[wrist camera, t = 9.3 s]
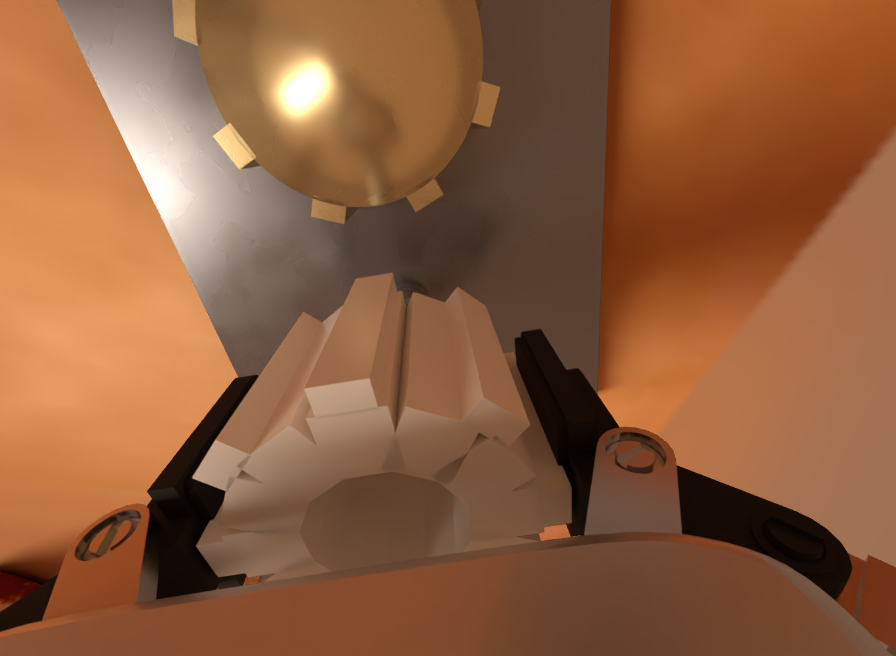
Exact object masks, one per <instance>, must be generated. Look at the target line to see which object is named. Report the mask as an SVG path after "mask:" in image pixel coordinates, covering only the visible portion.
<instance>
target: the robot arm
mask: <svg viewBox="0 0 896 656" xmlns="http://www.w3.org/2000/svg"><path fill="white" fill-rule="evenodd" d="M515 354H516V365H517V368H518V370H519V372H520V375H521V377H522V380H523V382H524V384H525V387H526V389H527V392H528V394H529V397H530V399H531V401H532V404H533V406H534V409H535V411H536V414H537V416H538V418H539V421H540V423H541V426H542V428H543V430H544V433H545V435H546V438H547V440H548V443H549V445H550V447H551V450H552V452H553V455H554V457H555V460H556V462H557V464H558V466H563V469H564V471H565V473H566V476H567V478H568V480H569V483H570V485H571V487H572V523H568V524H566V525H567V528H568V530H569V533H570V536H571V537H568V538H561V539H553V540H545V541H538V542H530V543H522V544H515V545H507V546H501V547H494V548H487V549H480V550H474V551H467V552H460V553H453V554H447V555H440V556H433V557H427V558H420V559H413V560H406V561H400V562H393V563H386V564H380V565H373V566H367V567H360V568H354V569H347V570H341V571H334V572H328V573H321V574H315V575H308V576H302V577H295V578H289V579H282V580H276V581H270V582H263V583H257V584H250V585H244V586H243V583H244V581H245V578H246V576H247V575H246V574H245V573H243V574H236V575H230V576H223V577H218V576H217V575H216V574H215V572H214V571H213V569H212V568H211V567H210V565H209V564H208V562H207V561H206V560H205V558H204V557H203V555H202V554H201V553H200V551H199V550H198V548H197V547H196V545H197V543H198V541H199V539H200V538H201V536H202V534H203V532H204V530H205V529H206V527H207V525H208V523H209V521H210V520H214V518H215V517H216V515H217V513H218V511H219V509H220V507H221V506H222V504H223V502H224V497H225V492H226V491H224V490H221V489H219V488H216V487H214V486H211V485H208V484H206V483H203V482H201V481H198V480H195V479H193V478H192V477H193V475H194V474H195V472H196V471H197V469H198V467H199V466H200V464H201V462H202V461H203V459H204V458H205V456H206V454H207V453H208V451H209V449H210V448H211V446H212V445H213V443H214V441H215V440H216V438H217V437H218V435H219V434H220V432H221V431H222V430H223V428H224V427H225V425H226V424H227V422H228V421H229V419H230V418H231V416H232V415H233V413H234V412H235V411H236V409H237V408H238V406H239V405H240V403H241V402H242V400H243V399H244V397H245V396H246V394H247V393H248V392H249V390H250V389H251V387H252V386H253V384H254V383H255V381H256V380H257V378H258V377H259V375H251V376H245V377H239V378H235V379H234V380H233V381H232V383H231V384H230V385H229V387H228V388H227V389H226V390H225V392H224V393H223V394H222V396H221V397H220V398H219V399H218V401H217V402H216V403H215V405H214V406H213V407H212V408H211V410H210V411H209V412H208V414H207V415H206V416H205V417H204V419H203V420H202V421H201V423H200V424H199V425H198V426H197V428H196V429H195V430H194V432H193V433H192V434H191V435H190V437H189V438H188V439H187V441H186V442H185V443H184V444H183V446H182V447H181V448H180V450H179V451H178V452H177V453H176V455H175V456H174V457H173V459H172V460H171V461H170V462H169V464H168V465H167V466H166V468H165V469H164V470H163V471H162V473H161V474H160V475H159V477H158V478H157V479H156V480H155V482H154V483H153V484H152V486H151V487H150V488H149V489H148V491H147V492H148V494H149V495H150V496H151V498H152V500H151V501H150V503H149V504H148V505H147V507H146V506H145V505H143V504H132V505H126V506H124V507H121V508H118V509H116V510H114V511H112V512H110V513H108V514H106V515H104V516H102V517H101V518H100V519H98V520H97V521H95V522H94V523H92V524H91V525H90V526H89V527H87V528H86V529H85V530H84V531H83V532H82V533H81V534H80V535H79V536H78V537H77V538H76V539H75V540H74V542H73V543H72V544H71V545H70V547H69V549H68V551H67V553H66V555H65V558H64V560H63V563H62V566H61V569H60V571H59V574H58V575H57V576H55V577H54V578H52V579H50V580H49V581H47V582H46V583H44V584H43V585H41V586H40V587H38V588H36V589H35V590H33V591H32V592H30V593H29V594H27V595H26V596H24V597H22V598H21V599H19V600H18V601H16V602H15V603H13V604H12V605H10V606H8V607H7V608H5V609H4V610H2V611H1V612H0V656H896V567H894V566H892V565H889V564H887V563H885V562H883V561H881V560H879V559H876V558H874V557H872V556H870V555H868V556H867V558H866V560H865V561H864V560H862V559H860V558H857V557H855V556H853V555H851V554H849V553H847V551H846V550H845V548H844V546H843V545H842V543H841V542H840V541H839V540H838V539H837V538H836V537H835V536H834V535H833V534H832V533H831V532H829V530H828V529H826V528H825V527H823V526H822V525H820V524H819V523H817V522H816V521H814V520H813V519H811V518H809V517H807V516H805V515H802V514H800V513H799V512H796V511H794V510H791V509H789V508H786V507H783V506H781V505H778V504H776V503H773V502H771V501H768V500H765V499H763V498H760V497H758V496H755V495H752V494H750V493H747V492H745V491H742V490H740V489H737V488H734V487H732V486H729V485H726V484H724V483H721V482H719V481H716V480H714V479H711V478H708V477H706V476H703V475H701V474H698V473H695V472H693V471H690V470H688V469H685V468H682V467H680V466H677V465H676V458H675V455H674V451H673V450H672V448H671V447H670V446H669V444H668V443H667V442H666V441H664V440H663V439H662V438H660V437H659V436H658V435H656V434H654V433H651V432H649V431H647V430H643V429H639V428H635V427H619V426H618V424H617V423H616V421H615V420H614V418H613V417H612V415H611V414H610V412H609V411H608V410H607V408H606V407H605V405H604V404H603V402H602V401H601V399H600V398H599V396H598V395H597V393H596V392H595V390H594V389H593V387H592V386H591V385H590V383H589V382H588V380H587V379H586V377H585V376H584V374H583V373H582V371H581V370H580V369H578V368H574V369H568V370H566V368H565V367H564V365H563V364H562V362H561V360H560V359H559V357H558V356H557V354H556V352H555V351H554V349H553V347H552V346H551V344H550V343H549V341H548V339H547V338H546V336H545V335H544V333H543V331H542V330H541V329H536V330H530V331H523V332H521V337H517V338H515ZM578 535H580V536H578ZM572 536H576V537H572ZM217 588H218V589H219V590H216V589H217Z"/></svg>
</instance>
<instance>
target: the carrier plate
mask: <svg viewBox="0 0 896 656" xmlns="http://www.w3.org/2000/svg"><path fill="white" fill-rule="evenodd" d="M57 2H58V4H59V6H60V8H61V10H62V12H63V14H64V16H65V18H66V21H67V23H68V25H69V27H70V29H71V31H72V33H73V35H74V37H75V39H76V41H77V43H78V45H79V48H80V50H81V52H82V54H83V56H84V58H85V60H86V62H87V64H88V66H89V68H90V70H91V72H92V74H93V77H94V79H95V81H96V83H97V85H98V87H99V89H100V91H101V93H102V95H103V97H104V99H105V101H106V104H107V106H108V108H109V110H110V112H111V114H112V116H113V118H114V120H115V122H116V124H117V126H118V128H119V130H120V133H121V135H122V137H123V139H124V141H125V143H126V145H127V147H128V149H129V151H130V153H131V155H132V157H133V160H134V162H135V164H136V166H137V168H138V170H139V172H140V174H141V176H142V178H143V180H144V182H145V184H146V187H147V189H148V191H149V193H150V195H151V197H152V199H153V201H154V203H155V205H156V207H157V209H158V211H159V213H160V216H161V218H162V220H163V222H164V224H165V226H166V228H167V230H168V232H169V234H170V236H171V238H172V240H173V243H174V245H175V247H176V249H177V251H178V253H179V255H180V257H181V259H182V261H183V263H184V265H185V267H186V270H187V272H188V274H189V276H190V278H191V280H192V282H193V284H194V286H195V288H196V290H197V292H198V294H199V296H200V299H201V301H202V303H203V305H204V307H205V309H206V311H207V313H208V315H209V317H210V319H211V321H212V323H213V326H214V328H215V330H216V332H217V334H218V336H219V338H220V340H221V342H222V344H223V346H224V348H225V350H226V352H227V355H228V357H229V359H230V361H231V363H232V365H233V367H234V369H235V371H236V373H237V375H238V377H245V376H251V375H260V374H261V373H262V371H263V370H264V368H265V367H266V365H267V364H268V362H269V361H270V359H271V358H272V356H273V355H274V354H275V352H276V351H277V349H278V348H279V346H280V345H281V343H282V342H283V340H284V339H285V337H286V336H287V335H288V333H289V332H290V330H291V329H292V327H293V326H294V324H295V323H296V321H297V320H298V318H299V317H300V316H301V314H302V313H303V312H305V313H306V314H308V315H310V316H312V317H313V318H315V319H317V320H319V321H320V322H323V321H324V320H326V319H327V318H328V317H329V316H330V315H332V314H333V313H334V312H335V311H337V310H338V309H339V308H340V307H341V306H343V305H344V303H345V301H346V299H347V296H348V294H349V292H350V290H351V288H352V286H353V284H354V282H355V279H357V278H363V277H369V276H375V275H381V274H388V273H393V276H394V281H395V285H396V290H397V292H398V291H403V296H404V300H405V305H406V310H407V307H408V304H409V302H410V299H411V296H412V294H413V292H416V293H419V294H421V295H424V296H427V297H430V298H433V299H436V300H439V301H442V302H446V301H447V299H448V298H449V297H450V296H451V294H452V293H453V292H454V290H455V289H456V288H457V287H459V288H460V289H462V290H463V291H465V292H466V293H468V294H469V295H470V296H472V297H473V298H475V299H476V300H478V301H479V302H481V303H482V304H484V305H485V306H486V308H487V311H488V314H489V316H490V319H491V322H492V324H493V327H494V330H495V332H496V335H497V338H498V340H499V343H500V346H501V348H502V351H503V353H510V352H514V354H515V338H517V337H521V332H523V331H530V330H536V329H541V330H542V331H543V333H544V335H545V336H546V338H547V339H548V341H549V343H550V344H551V346H552V347H553V349H554V351H555V352H556V354H557V356H558V357H559V359H560V360H561V362H562V364H563V365H564V367H565V368H566V370H568V369H574V368H578V369H580V370H581V371H582V373H583V374H584V376H585V377H586V379H587V380H588V382H589V383H590V385H591V386H592V387H593V389H594V390H595V392H596V393H597V390H598V361H599V332H600V303H601V275H602V246H603V217H604V188H605V160H606V131H607V102H608V73H609V45H610V16H611V0H484V1H483V4H482V6H481V8H480V10H479V12H478V14H479V19H480V26H481V33H482V41H483V71H482V82H485V83H489V84H492V85H495V86H498V87H500V91H499V95H498V99H497V103H496V106H495V110H494V114H493V118H492V122H491V125H490V127H489V128H482V129H475V128H471V127H470V128H469V130H468V132H467V134H466V137H465V139H464V141H463V142H462V144H461V146H460V147H459V149H458V151H457V152H456V154H455V155H454V157H453V158H452V159H451V160H450V162H449V163H448V164H447V166H446V167H445V168H444V169H443V170H442V171H441V172H440V173H439V174H438V175H437V176H436V179H437V181H438V182H439V184H440V187H441V189H442V192H443V195H442V196H440V197H439V198H437V199H436V200H434V201H433V202H431V203H429V204H428V205H426V206H425V207H423V208H422V209H420V210H419V211H417V212H415V210H414V209H413V207H412V205H411V204H410V202H409V201H408V199H407V197H404V198H402V199H399V200H396V201H394V202H391V203H387V204H382V205H378V206H369V207H358V209H357V211H356V212H355V213H354V214H353V215H352V216H351V217H350V218H349V219H348V221H347V222H346V223H345V224H341V223H337V222H332V221H328V220H324V219H319V218H315V217H311V211H312V200H313V199H312V198H310V197H308V196H306V195H303V194H301V193H299V192H297V191H295V190H293V189H292V188H290V187H288V186H287V185H285V184H283V183H282V182H280V181H279V180H278V179H276V178H275V177H274V176H272V175H271V174H270V173H268V172H267V171H266V170H265V169H264V168H263V167H262V166H257V167H251V168H246V169H240V170H239V168H238V167H237V166H236V165H235V163H234V162H233V161H232V160H231V158H230V157H229V156H228V155H227V153H226V152H225V151H224V150H223V148H222V147H221V146H220V145H219V143H218V142H217V141H216V140H215V138H214V137H213V135H215V134H216V133H217V132H219V131H220V130H221V129H222V128H224V127H225V126H226V125H227V124H226V122H225V120H224V118H223V116H222V115H221V113H220V111H219V109H218V107H217V105H216V103H215V101H214V98H213V96H212V94H211V91H210V89H209V87H208V83H207V80H206V77H205V74H204V71H203V67H202V64H201V59H200V54H199V49H198V46H196V45H194V44H191V43H189V42H187V41H184V40H182V39H179V38H177V37H174V23H173V4H172V0H57ZM515 356H516V354H515Z"/></svg>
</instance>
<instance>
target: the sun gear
mask: <svg viewBox="0 0 896 656" xmlns="http://www.w3.org/2000/svg"><path fill="white" fill-rule="evenodd" d="M483 1H484V0H172V4H173V23H174V37H177V38H179V39H182V40H184V41H187V42H189V43H191V44H194V45H196V46H198V49H199V54H200V59H201V64H202V67H203V71H204V74H205V77H206V80H207V83H208V87H209V89H210V91H211V94H212V96H213V98H214V101H215V103H216V105H217V107H218V109H219V111H220V113H221V115H222V116H223V118H224V120H225V122H226V124H227V125H226V126H225V127H224V128H222V129H221V130H220V131H219V132H217V133H216V134H215V135H213V137H214V138H215V140H216V141H217V142H218V143H219V145H220V146H221V147H222V148H223V150H224V151H225V152H226V153H227V155H228V156H229V157H230V158H231V160H232V161H233V162H234V163H235V165H236V166H237V167H238V168H239V170H240V169H246V168H251V167H257V166H262V167H263V168H264V169H265V170H266V171H267V172H268V173H270V174H271V175H272V176H274V177H275V178H276V179H278V180H279V181H280V182H282V183H283V184H285V185H287V186H288V187H290V188H292V189H293V190H295V191H297V192H299V193H301V194H303V195H306V196H308V197H310V198H312V199H313V200H312V211H311V217H315V218H319V219H324V220H328V221H332V222H337V223H341V224H345V223H346V222H347V221H348V219H349V218H350V217H351V216H352V215H353V214H354V213H355V212H356V211H357V209H358V207H369V206H378V205H382V204H387V203H391V202H394V201H396V200H399V199H402V198H404V197H407V199H408V201H409V202H410V204H411V205H412V207H413V209H414V210H415V212H417V211H419V210H420V209H422V208H423V207H425V206H426V205H428V204H429V203H431V202H433V201H434V200H436V199H437V198H439V197H440V196H442V195H443V192H442V189H441V187H440V184H439V182H438V181H437V179H436V176H437V175H438V174H439V173H440V172H441V171H442V170H443V169H444V168H445V167H446V166H447V164H448V163H449V162H450V160H451V159H452V158H453V157H454V155H455V154H456V152H457V151H458V149H459V147H460V146H461V144H462V142H463V141H464V139H465V137H466V134H467V132H468V130H469V128H470V127H471V128H475V129H482V128H489V127H490V125H491V122H492V118H493V114H494V110H495V106H496V103H497V99H498V95H499V91H500V87H498V86H495V85H492V84H489V83H485V82H482V71H483V41H482V33H481V26H480V19H479V14H478V12H479V10H480V8H481V6H482V4H483Z"/></svg>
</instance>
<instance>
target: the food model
mask: <svg viewBox="0 0 896 656" xmlns="http://www.w3.org/2000/svg"><path fill="white" fill-rule="evenodd" d="M40 586H41V585H40V584H37V583H35V582H32V581H29V580H27V579H24V578H22V577H19V576H15V575H12V574H9V573H6V572H1V573H0V612H1V611H2V610H4V609H5V608H7V607H8V606H10V605H12V604H13V603H15V602H16V601H18V600H19V599H21V598H22V597H24V596H26V595H27V594H29V593H30V592H32V591H33V590H35V589H36V588H38V587H40Z"/></svg>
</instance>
